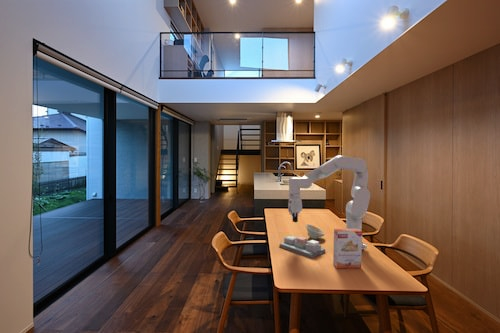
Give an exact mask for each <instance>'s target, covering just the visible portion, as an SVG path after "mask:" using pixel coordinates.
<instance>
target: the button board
mask: <svg viewBox="0 0 500 333" xmlns="http://www.w3.org/2000/svg"><path fill="white" fill-rule="evenodd" d="M289 236H290V235H288V236H284V238H283V242H280V243H279V247H280V248H282V249H284V250H287V251H290V252H293V253H296V254H299V255H302V256H305V257H307V258H309V259H313V258H315V257H317V256H320V255H322V254H324V253H326V248H324V247H322V244H320V243H319V245H318V246H316V247H313V246H310V245H308V241H309V240H307V242H305V243H300V242H297V241H296V238H298V236H297V237H296V236H295V237H296V238H295V239H293V240H291V239H288V238H286V237H289Z"/></svg>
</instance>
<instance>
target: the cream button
mask: <svg viewBox="0 0 500 333" xmlns="http://www.w3.org/2000/svg"><path fill="white" fill-rule="evenodd" d="M307 241H308V245H310V246H313V247H316V246H318V245H319V244H320V241H317V240H316V239H310V240H307Z"/></svg>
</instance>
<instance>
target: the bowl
mask: <svg viewBox="0 0 500 333" xmlns="http://www.w3.org/2000/svg"><path fill="white" fill-rule="evenodd" d="M305 228H306V230H307V236H308V237H309V238H310V239H312V240H318V239H319V238H322V237H323V236H325V233H324V232H323V231H322V230H321V229H320V228H319V227H316V226H314V225H311V224H305Z"/></svg>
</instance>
